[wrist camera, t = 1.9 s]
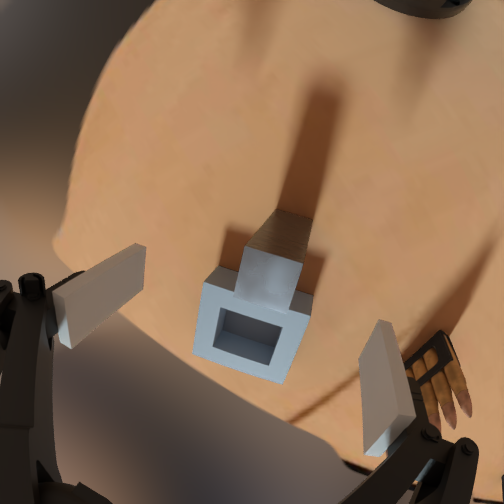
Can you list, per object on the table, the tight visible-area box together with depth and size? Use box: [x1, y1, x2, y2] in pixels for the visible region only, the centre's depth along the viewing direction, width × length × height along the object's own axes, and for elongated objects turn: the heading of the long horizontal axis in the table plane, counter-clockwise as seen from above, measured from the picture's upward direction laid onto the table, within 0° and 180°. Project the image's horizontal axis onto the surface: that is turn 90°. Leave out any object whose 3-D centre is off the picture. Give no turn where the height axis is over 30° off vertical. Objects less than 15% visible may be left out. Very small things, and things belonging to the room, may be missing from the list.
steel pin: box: [233, 209, 313, 314], centre depth 23 cm, size 4×4×11 cm
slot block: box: [192, 266, 313, 384], centre depth 30 cm, size 9×10×4 cm
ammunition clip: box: [386, 330, 472, 457], centre depth 24 cm, size 11×2×12 cm, turn 147°
